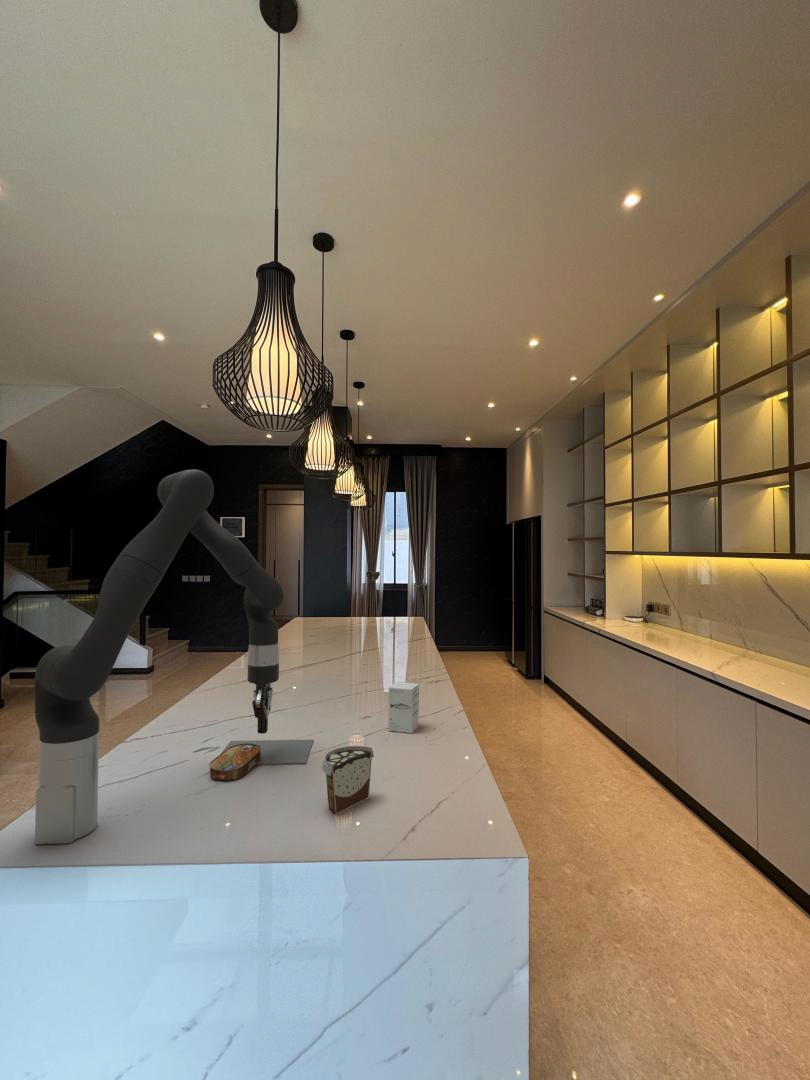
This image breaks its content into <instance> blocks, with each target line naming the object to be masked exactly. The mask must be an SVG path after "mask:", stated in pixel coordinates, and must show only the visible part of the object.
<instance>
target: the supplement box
mask: <svg viewBox="0 0 810 1080" xmlns="http://www.w3.org/2000/svg"><path fill="white" fill-rule="evenodd" d="M419 700H420V683H411V682H400V681H395V682H393V683H392V685H390V686H389V687H388V721H387V722H388V723H387V724H388V727H387V728H388V729H387V730H388V732H399V733H405V732H406V733H407V734H408V733H409V734H413V733H414V732H415V731H414V730H417V729H418V728H419V717H420V714H419V712H420V711H419V710H420V709H419V708H420V707H419V706H420V704H419V703H420V701H419Z"/></svg>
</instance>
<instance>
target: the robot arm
mask: <svg viewBox="0 0 810 1080" xmlns="http://www.w3.org/2000/svg"><path fill="white" fill-rule="evenodd" d="M212 480H213V479H212V478H211V476H209V474H208V473H206V472H205V471H202V470H200V469H185V470H182V471H179V472H178V471H177V472H174V473H172V474H169V475H167V476H165V477H164V478H162V479H161V480H160V482H159V483H158V486H157V489H156V491H157V497H158V501H159V502H160V504H161V505H162V507H161V509H160V511H158V513H157V515H156V516H155V517H154V518H153V520H151V521H150V523H148V524H147V525H146V526H145V527H144V528H143V529H142V530H141V531H140V532H138V533H137V534H136V536H134V537H133V538H132V539H131V540H130V541H129V542H128V543H127V544H126V546H125V547H124V548H123V549H122V551H121V552H120V553H119V554H118V556H117V558H115V561H114V562H113V563H112V565H111V567H110V568H109V570H108V571H107V573H106V575H105V577H104V579H103V582H102V585H101V588H100V593H99V598H98V605H97V608H96V611H95V614H94V617H93V619H92V620H91V623H90V624H89V626H88V628H87V629H86V630H85V632H84V634H83V635H82V637H81V638H80V639H79V641H78V642H77V643H76V644H75V645H69V644H68V645H67V644H65V645H59V646H56V647H53V648H51V649H49V650H48V651H47V652H46V653H44V654H43V656H42V657H41V658H40V659H39V662H38V664H37V665H36V670H35V672H34V673H35V674H34V716H35V721H36V723H35V724H36V725H37V727H38V730H39V731H38V733H39V747H38V749H39V753H38V786H37V788H36V789H35V790H36V791H35V817H34V818H35V823H34V824H35V826H34V829H35V831H34V844H35V845H46V844H47V845H50V844H51V845H52V844H53V845H55V844H72V843H73V842H74V841H75V840H78V839H80V838H82V837H85V836H86V835H88V834H90V833H91V832H93V831H94V830H95V829H96V828H97V825H98V813H99V812H98V811H99V810H98V809H99V799H98V798H99V761H100V760H99V758H100V757H99V756H100V755H99V754H100V750H99V749H100V748H99V747H100V718H99V715H98V713H97V712H96V711H95V710H94V708H93V705H92V703H91V700H90V698H91V697H93V696H94V695H96V694H97V693H98V692H100V690H101V689H102V687H103V686H104V684H106V682H107V680H108V678H109V676H110V674H111V672H112V670H113V667H114V666H115V664H116V662H117V659H118V657H119V655H120V653H121V650H122V649H123V646H124V644H125V642H126V640H127V638H128V636H129V634H130V632H131V630H132V629H133V627H134V626H135V624H136V622H137V621H138V619H139V617H140V615H142V613H143V610H144V608H145V607H146V605H147V603H148V601H149V600H150V599H151V597H152V595H153V594H154V593H155V591H156V589H157V588H158V586H159V584H160V583H161V581H162V579H163V578H164V575H165V574H166V572H167V571H168V569H169V567H170V565H171V563H172V562H173V560H174V558H175V557H176V554H177V553H178V551H179V550H180V548H181V546H182V545H183V543H184V540H185V539H186V537H187V536H188V534H189V532H190V534H192V535H193V536H194V537H195V538H196V539H197V540H198V541H199V542H201V543H202V544H203V546H204V547H205V548H206V549H207V550H208V551H209V552H210V554H212V555H213V556H214V557H213V558H215V559H216V560H217V562H218V563H219V564H220V565H221V566H222V568H223V569H224V571H226V573H227V574H228V576H229V577H230V578H231V579H232V580H233V582H235V583H236V584H238V585H240V586H243V587H245V588H246V589H245V591H244V595H243V596H244V597H243V601H244V608H245V609H244V610H245V613H246V614H245V615H246V619H247V622H248V626H249V629H248V630H249V631H248V651H247V682H248V683H250V684H254V685H255V689H253V693H252V694H253V699H254V700H252V702H251V704H252V705H251V706H252V708H253V709H252V710H253V713H254V718H255V719H257V733H258V734H259V735H260V734H267V732H268V730H269V716H270V712H271V709H272V698H273V694H274V693H273V692H274V688H273V687H272V685H271V684H272V683H275V682H277V681H279V678H280V649H279V624H278V622H277V621H276V619H273V618H272V614H271V611H275V610H277V609H279V608H280V607H281V606H282V605H283V602H284V600H285V593H284V590H283V587H282V585H281V584H280V583H279V581H278V580H277V579H276V578H275V577H274V576H273V575H271V573H269V572H268V571H267V570H266V569H265V568H263V567H262V566H261V565H260V564H259V563H258V562H257V560H256V559H255V557H254V555H253V554H252V553H251V552H250V550H249V549H248V548H247V546H245V544H244V543H243V542H242V541H241V540H240V539H239V538H238V537H236V536H235V535H234V534H233V533H231V532H230V531H229V530H227V529H226V528H225V527H223V526H222V525H221V524H220V523H219V522H218V521H216V519H214V518H213V516H212V515H211V514H209V512H208V511H207V508H208V507H209V506H210V504H211V503H212V500H213V498H214V494H215V493H214V492H215V486H214V483H213V481H212Z"/></svg>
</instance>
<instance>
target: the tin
mask: <svg viewBox="0 0 810 1080" xmlns="http://www.w3.org/2000/svg"><path fill="white" fill-rule="evenodd" d="M221 753H222V752H221ZM221 753H220V754H219V755H217V756H216V757H215V758H214V759H213V760H211V761H210V762H209V776H210V777H211V778H212V779H213V780H218V781H219V780H220V781H234V780H237V779H240V778H242V777H244V776H245V775H246V774H247V773H248V772H249V771H250V770H251V769H252V768H253V767H254V766H256V765H255V764H256V763H257V762H258V761H259V760H260V756H261V747H260V746H258V745H256V744H250V743H246V744H238V745H234V746H232V747H229V748H228V749H226V750H225V751H224V752H223V753H222V754H221Z"/></svg>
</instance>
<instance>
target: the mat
mask: <svg viewBox="0 0 810 1080" xmlns="http://www.w3.org/2000/svg"><path fill="white" fill-rule="evenodd" d="M246 743H250V744H256V745H258V746H260V747H261V756H260V760H259V761H258V762H257V763H256V764H255V765H254V766H276V764H289V765H306V764H307V762H308V758H309V755H310V752H311V751H312V750H311V749H312V746H313V743H314V739H268V740H267V739H263V740H261V739H260V740H255V739H254V740H230V741H229V743H228V744H226V746H225V747H224V749H223V750H222V751H221V753H220V754H222V753H223V752H224V751H225V750H226V749H228V748H229V747H232V746H234V745H238V744H246Z"/></svg>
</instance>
